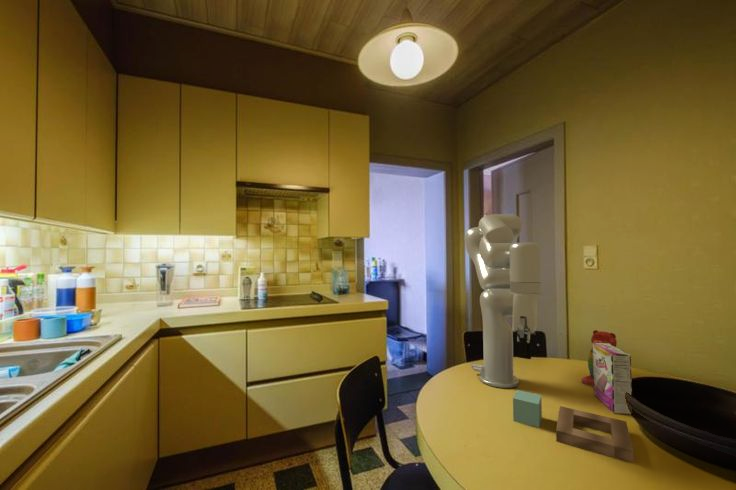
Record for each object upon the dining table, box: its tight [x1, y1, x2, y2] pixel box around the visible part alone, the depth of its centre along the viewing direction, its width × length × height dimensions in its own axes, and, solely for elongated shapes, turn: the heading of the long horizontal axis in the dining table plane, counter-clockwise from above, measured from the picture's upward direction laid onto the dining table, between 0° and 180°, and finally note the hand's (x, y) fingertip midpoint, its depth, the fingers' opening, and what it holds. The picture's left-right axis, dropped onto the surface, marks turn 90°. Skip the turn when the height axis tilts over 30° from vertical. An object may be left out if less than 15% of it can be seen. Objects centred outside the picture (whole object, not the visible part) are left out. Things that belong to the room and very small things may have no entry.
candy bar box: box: [591, 342, 633, 416], centre depth 91 cm, size 11×5×16 cm, turn 168°
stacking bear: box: [580, 329, 618, 387], centre depth 104 cm, size 11×10×18 cm
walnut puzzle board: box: [555, 405, 635, 464], centre depth 76 cm, size 14×14×2 cm
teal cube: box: [512, 389, 543, 429], centre depth 84 cm, size 6×6×6 cm
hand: (527, 353), depth 84 cm, fingers open, 9 cm apart
